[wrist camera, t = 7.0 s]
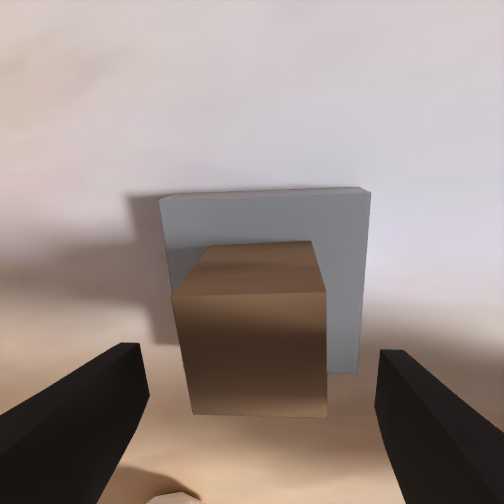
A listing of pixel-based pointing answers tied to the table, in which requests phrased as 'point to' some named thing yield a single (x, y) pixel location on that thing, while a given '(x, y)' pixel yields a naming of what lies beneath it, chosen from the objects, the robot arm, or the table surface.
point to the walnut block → (254, 331)
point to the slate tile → (283, 230)
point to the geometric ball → (174, 499)
